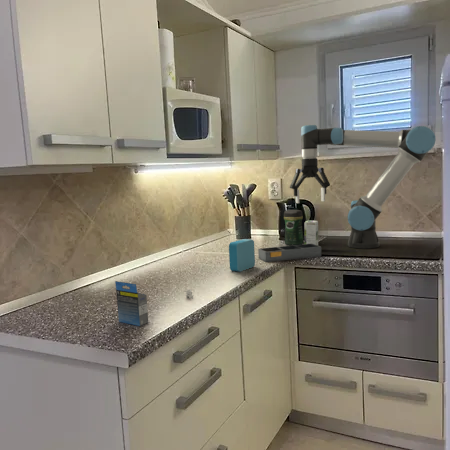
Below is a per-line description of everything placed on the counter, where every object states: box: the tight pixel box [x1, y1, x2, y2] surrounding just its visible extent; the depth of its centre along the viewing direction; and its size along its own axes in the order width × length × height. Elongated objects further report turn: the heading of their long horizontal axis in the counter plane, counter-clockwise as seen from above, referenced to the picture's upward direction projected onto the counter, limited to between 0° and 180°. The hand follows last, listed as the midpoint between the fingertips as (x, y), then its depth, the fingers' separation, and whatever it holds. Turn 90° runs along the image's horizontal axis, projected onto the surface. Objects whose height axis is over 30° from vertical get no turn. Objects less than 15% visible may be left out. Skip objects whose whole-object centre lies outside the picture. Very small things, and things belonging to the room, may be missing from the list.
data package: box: [228, 238, 256, 273], centre depth 192 cm, size 12×4×12 cm, turn 140°
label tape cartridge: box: [114, 280, 149, 327], centre depth 132 cm, size 9×4×12 cm, turn 56°
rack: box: [257, 243, 322, 263], centre depth 211 cm, size 27×10×4 cm, turn 105°
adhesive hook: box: [183, 289, 194, 300], centre depth 155 cm, size 3×3×3 cm
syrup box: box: [303, 220, 319, 246], centre depth 225 cm, size 6×6×14 cm
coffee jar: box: [283, 209, 305, 246], centre depth 243 cm, size 10×8×19 cm
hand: (310, 202), depth 223 cm, fingers open, 13 cm apart
